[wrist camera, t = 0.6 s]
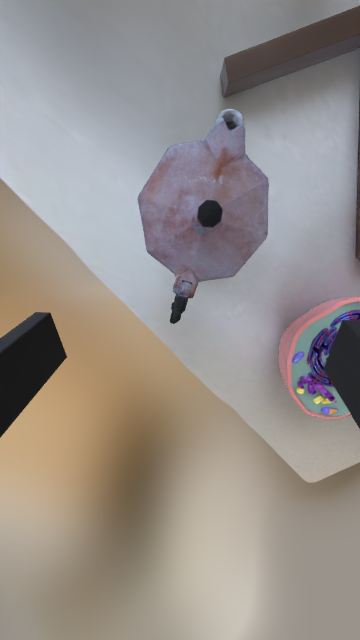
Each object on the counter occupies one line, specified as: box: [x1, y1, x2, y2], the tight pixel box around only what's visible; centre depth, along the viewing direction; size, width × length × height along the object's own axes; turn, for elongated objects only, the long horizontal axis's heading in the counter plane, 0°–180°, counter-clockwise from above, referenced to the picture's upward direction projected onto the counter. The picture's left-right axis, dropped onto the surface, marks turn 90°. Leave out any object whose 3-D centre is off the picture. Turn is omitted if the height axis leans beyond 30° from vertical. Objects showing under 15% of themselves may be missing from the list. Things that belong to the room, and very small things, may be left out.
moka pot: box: [138, 108, 269, 324], centre depth 23 cm, size 10×15×20 cm, turn 169°
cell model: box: [278, 296, 360, 419], centre depth 33 cm, size 17×20×11 cm
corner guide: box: [221, 6, 360, 259], centre depth 28 cm, size 26×17×3 cm, turn 16°
